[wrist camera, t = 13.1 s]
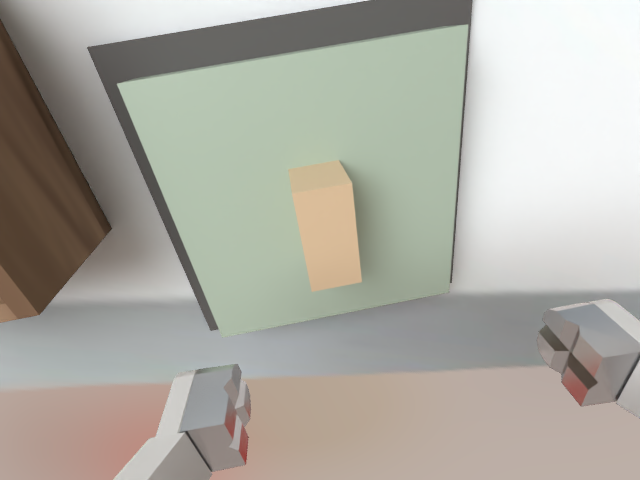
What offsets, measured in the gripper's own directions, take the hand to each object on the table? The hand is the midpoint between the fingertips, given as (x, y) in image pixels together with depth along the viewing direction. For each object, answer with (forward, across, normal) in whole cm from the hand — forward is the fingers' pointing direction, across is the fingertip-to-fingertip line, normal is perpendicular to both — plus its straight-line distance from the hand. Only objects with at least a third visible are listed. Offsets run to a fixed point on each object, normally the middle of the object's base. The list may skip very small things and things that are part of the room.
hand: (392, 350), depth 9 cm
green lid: (+12, +1, 0) cm, 12 cm away
